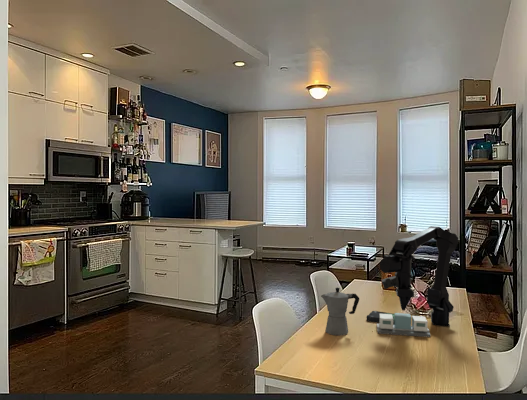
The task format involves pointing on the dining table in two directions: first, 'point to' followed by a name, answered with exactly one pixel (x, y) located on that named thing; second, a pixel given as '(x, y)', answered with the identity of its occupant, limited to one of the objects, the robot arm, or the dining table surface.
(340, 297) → the coffeepot
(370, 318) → the disk drive
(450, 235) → the robot arm
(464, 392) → the dining table surface
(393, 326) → the din board
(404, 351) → the dining table surface
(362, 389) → the dining table surface
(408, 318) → the block
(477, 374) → the dining table surface
